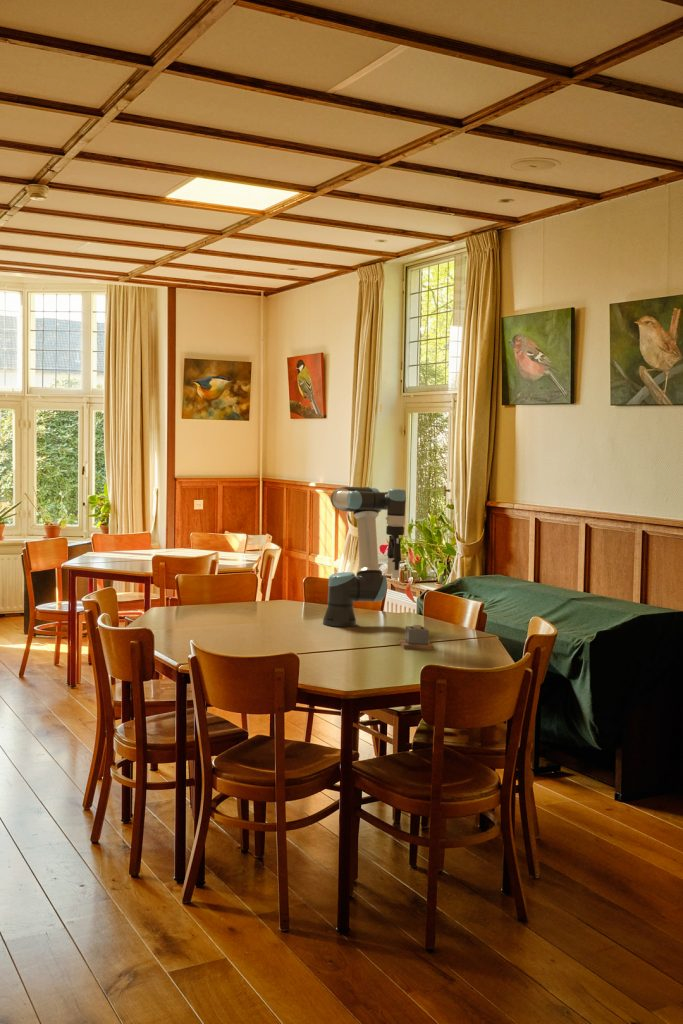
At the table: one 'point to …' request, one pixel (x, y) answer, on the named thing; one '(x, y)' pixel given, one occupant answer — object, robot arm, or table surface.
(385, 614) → the table surface
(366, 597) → the robot arm
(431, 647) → the post block
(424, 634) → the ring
